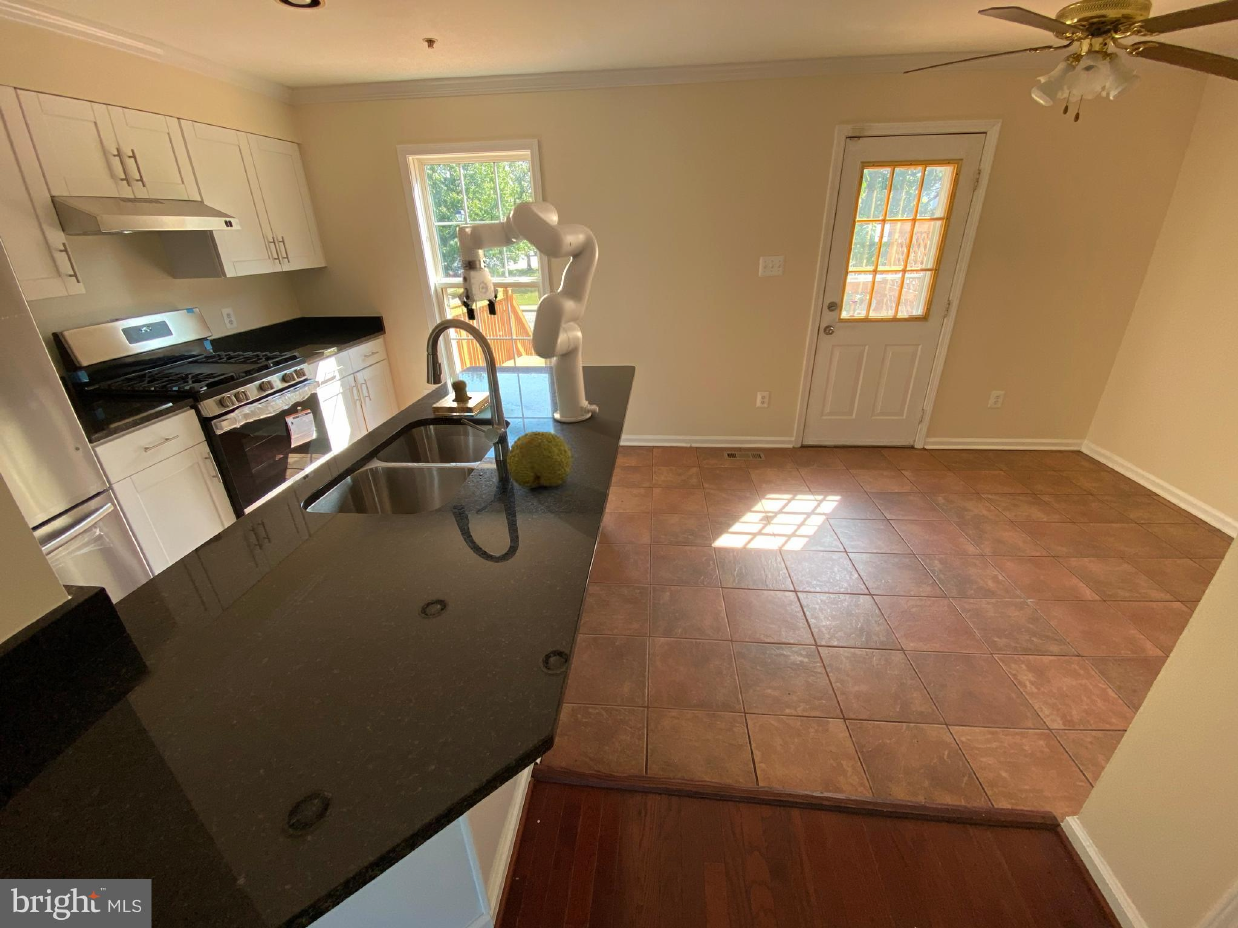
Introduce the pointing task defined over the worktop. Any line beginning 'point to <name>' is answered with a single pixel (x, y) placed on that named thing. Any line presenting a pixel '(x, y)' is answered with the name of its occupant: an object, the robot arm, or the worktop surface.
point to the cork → (460, 391)
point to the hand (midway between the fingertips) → (482, 317)
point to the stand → (462, 404)
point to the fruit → (539, 460)
